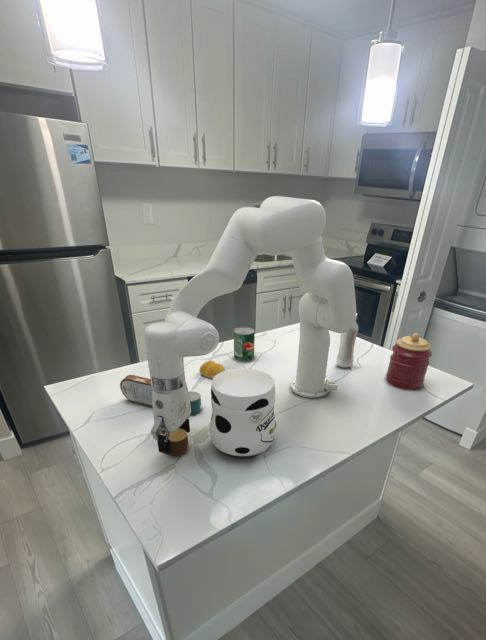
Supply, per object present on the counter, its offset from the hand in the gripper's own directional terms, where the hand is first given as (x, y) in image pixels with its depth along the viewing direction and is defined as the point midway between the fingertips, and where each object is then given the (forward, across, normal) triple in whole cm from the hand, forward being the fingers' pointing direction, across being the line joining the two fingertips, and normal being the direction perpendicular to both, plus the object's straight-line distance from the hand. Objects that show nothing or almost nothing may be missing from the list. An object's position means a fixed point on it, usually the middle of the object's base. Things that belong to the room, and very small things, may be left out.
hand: (175, 441), depth 93 cm
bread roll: (+2, +44, +9) cm, 45 cm away
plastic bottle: (+2, +67, -35) cm, 76 cm away
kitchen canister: (+2, +61, -57) cm, 84 cm away
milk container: (+3, +9, -15) cm, 18 cm away
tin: (+3, +18, +20) cm, 27 cm away
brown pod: (+3, 0, 0) cm, 3 cm away
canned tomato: (+2, +61, +3) cm, 62 cm away
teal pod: (+3, +19, +5) cm, 20 cm away
